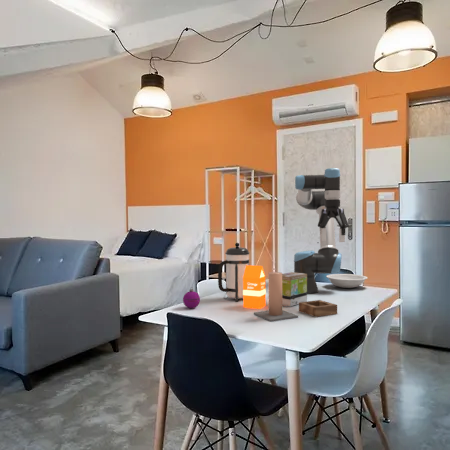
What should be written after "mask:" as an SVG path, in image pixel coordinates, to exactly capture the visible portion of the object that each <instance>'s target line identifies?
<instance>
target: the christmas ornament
mask: <svg viewBox="0 0 450 450" xmlns="http://www.w3.org/2000/svg"><path fill="white" fill-rule="evenodd" d="M182 302H183V305H185V306H184V307H186V308H188V309H195V308H196V307H198V306H199V305H200V303H201V296H200V294H199V293H198V292H196V291H194V288H193V287H190V289H189V291H187V292H186V293H185V294H184V295H183V297H182Z"/></svg>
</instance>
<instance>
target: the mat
mask: <svg viewBox="0 0 450 450" xmlns="http://www.w3.org/2000/svg"><path fill="white" fill-rule="evenodd" d="M253 315H254V316H257V317H260V318H262V319H264V320H266V321H269V322H276V321H277V322H279V321H282V320H283V321H284V320H291V319H297V318H299V315H298V314H295V313H292V312H289V311H286V310H284V309H283V314H282V315H279V316H273V315H269V310H264V311H263V310H262V311H254V312H253Z"/></svg>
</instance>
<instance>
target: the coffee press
mask: <svg viewBox="0 0 450 450" xmlns="http://www.w3.org/2000/svg"><path fill="white" fill-rule="evenodd" d="M224 255H225V260H223V261H221V262H220V264H219V265H218V268H217V269H218V270H217V285H218V289H219V290H220V291H221V292H224V293H225V294H226V295H224V296H223V299H224V300H227V299H228V298H230V299H235V300H234V302H235V303H238V302H239V299H243V276H244V272H245V268H246V265H250V251H249V249H248V248H246V247H242V246H241V247H240V242H236V243H235V247H229V248H227V249H226V251H225V254H224ZM224 266H225V288H224V287H223V267H224ZM226 296H227V297H226Z"/></svg>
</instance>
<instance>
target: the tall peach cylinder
mask: <svg viewBox="0 0 450 450" xmlns="http://www.w3.org/2000/svg"><path fill="white" fill-rule="evenodd" d="M282 274H283V273H282V272H280V271H272V272H268V276H267V277H268V279H267V280H268V311H269V315H273V316H279V315H282V314H283V310H284V309H283V305H282Z"/></svg>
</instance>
